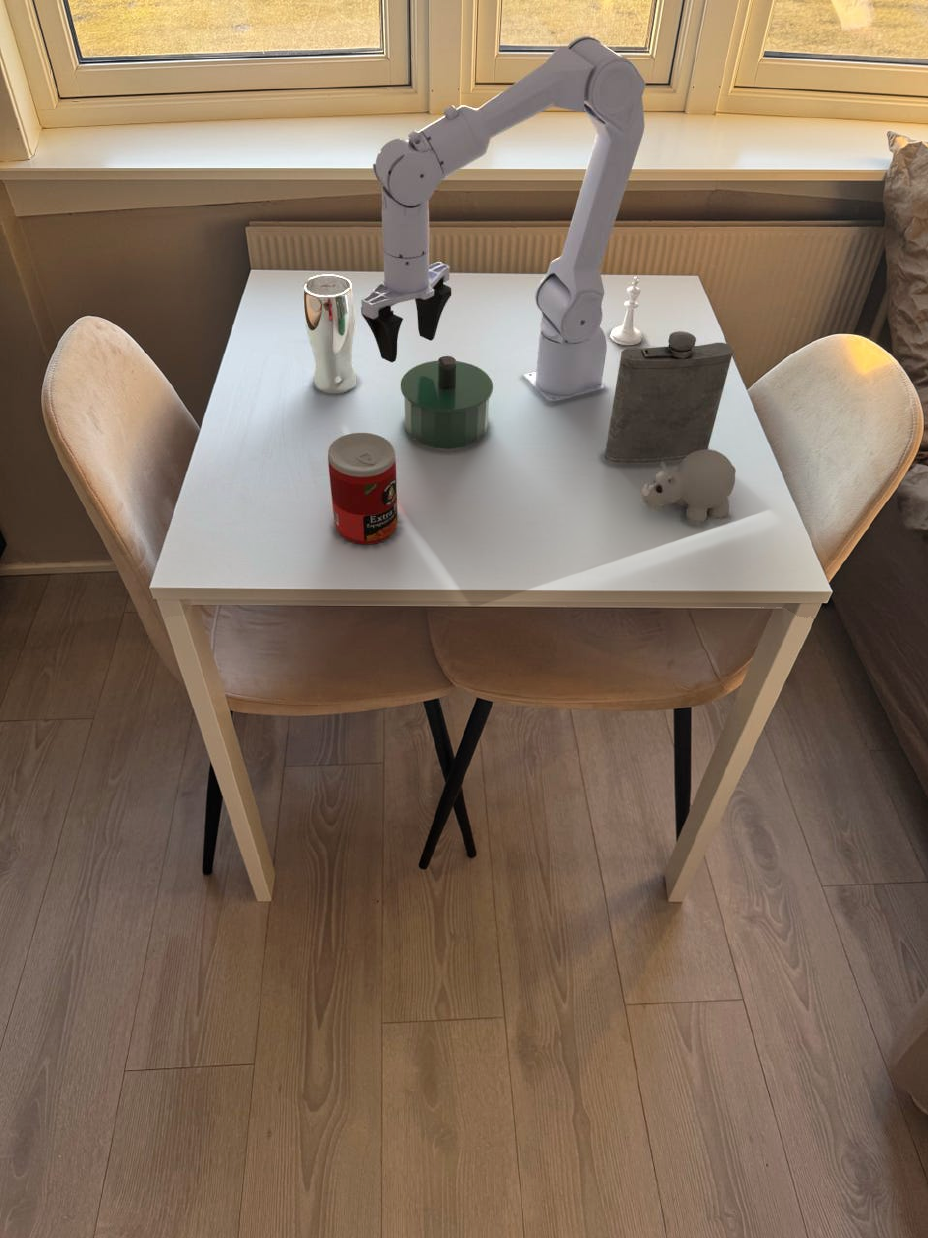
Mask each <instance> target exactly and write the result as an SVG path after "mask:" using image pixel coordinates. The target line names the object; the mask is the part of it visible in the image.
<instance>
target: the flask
mask: <svg viewBox="0 0 928 1238" xmlns="http://www.w3.org/2000/svg"><path fill="white" fill-rule="evenodd" d="M667 342H668V346H657V347H645V348H644V347H642V348H640V347H639V348H638V347H636V348H635V347H628V348H624V349H623V350H622V351H621V354H620V358H619V359H620V360H619V366H618V370H617V371H618V372H617V377H616V382H615V383H616V384H615V390H614V396H613V402H612V407H611V415H610V420H609V427H608V432H607V440H606V444H605V451H604V457H605V458H606V460H607V461H610V462H611V463H622V464H642V463H643V464H644V463H645V464H647V463H661V462H672V461H679V460H681V461H682V460H683V459H684V458H685V457H686V456H687V455H689V454H691V453H692V452H695V451H698V450H703V449H709V446H710V442H711V438H712V434H713V431H714V427H715V423H716V419H717V414H718V411H719V406H720V403H721V400H722V396H723V391H724V388H725V385H726V380H727V376H728V373H729V368H730V365H731V361H732V357H733V353H734V347H733V346H731V345H730V344H728V343H727V342H726V343H725V342H713V343H707V344H700V345H696V343H697V338H696V336H695V335H694V334H692V333H690V332H688V331H683V330H682V331H680V330H679V331H678V330H677V331H674V332H671V333H670V334H669V337H668V341H667Z"/></svg>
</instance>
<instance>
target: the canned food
mask: <svg viewBox="0 0 928 1238" xmlns="http://www.w3.org/2000/svg"><path fill="white" fill-rule="evenodd" d="M396 459H397V457H396V451H395V447H394V445H393V444H392V442H391V441H389V440H388V439H387V438H385V437H383V436H380V435H378V434H375V433H369V432H353V433H349V434H345V435H342V436H340V437H338V438H336V439H335V440H334V441H332V443H331V444H330V445H329V446H328V450H327V462H328V463H327V464H328V474H329V485H330V494H331V504H332V513H333V523H334V527H335V528H336V531H337V532H338V533H339V535H340V536H341V537H342V538H344V539H345V540H347V541H349V542H351V543H354V544H360V545H374V544H378V543H382V542H384V541H386V540H387V539H389V538H391V536H393V534H394V533H395V531H396V528H397V526H398V491H397V490H398V489H397V460H396Z"/></svg>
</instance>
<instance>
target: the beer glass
mask: <svg viewBox="0 0 928 1238" xmlns="http://www.w3.org/2000/svg"><path fill="white" fill-rule="evenodd" d="M352 286H353V285H352V283H351V281H350V280H349V279H347V278H345V277H343V276H340V275H336V274H321V275H316V276H313V277H310V278H308V279H307V280H306V281H305V282H304V283H303V284H302V290H303V294H302V295H303V299H302V300H303V314H304V323H305V328H306V334H307V336H308V341H309V343H310V346H311V350H312V354H313V357H314V358H313V359H314V366H315V367H314V377H313V378H314V379H313V382H314V383H313V384H314V386H315V388H316V389H317V390H319V391H320V392H322V393H325V394H330V395H337V394H343V393H346V392H349V391H350V390H352V389H353V388H354V387H355V386H356V383H357V379H356V374H355V371H354V367H353V347H354V340H355V339H354V338H355V329H356V327H355V326H356V314H355V312H356V311H355V301H354V295H353V287H352Z"/></svg>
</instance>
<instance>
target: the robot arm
mask: <svg viewBox="0 0 928 1238" xmlns="http://www.w3.org/2000/svg"><path fill="white" fill-rule="evenodd" d="M645 89H646V81H645V79H644V78H643V76H642V74H641V72H640V71H639V69H638V68H637V66H636V65H635V63H634V62H633V61H632V60H630V59H629V58H627V57H625V56H622V55H620V54H618V53H617V52H615V51H613V50H612V49H611V48H609V47H607V46H606V45H604V44H603V43H601V41H600V40H599V39H597V38H595V37H594V36H588V35H586V36H585V35H584V36H579V37H577V38H575V39H573V40H572V41H571V42H570V43H569V44H567V46H566V45H564V46H561V47H559V48H557V49H555V50H554V51H553V52H552V53H551V54H550V56H549V57H548V58H547V59H546V60H545V61H544V62H543V63H542V64H541V65H539V66H538V67H537V68H535V69H533V70H532V71H530V72H529V73H528V74H526V75H525V76H523V77H522V78H520V79H518V81H516V82H514V83H513V84H512V85H510V86H508V87H507V88H506V89H504V90H503V91H501V92H500V93H498V94H497V95H496V96H494V97H493V98H491V99H490V100H488V101H487V102H485V103H484V104H482V105H481V106H480V107H477V108H473V107H470V106H468V105H465V104H463V105H460V106H458V107H455V106H454V105H453V104H452V105H450V106H448V107H447V108H445V109H444V110H443V115H444V116H442V117H441V118H438V119H437V120H435V121H434V122H432V123H430V124H428V125H427V126H426V127H424V128H422V129H421V130H419V131H417V130H415V129H414V130H412V131H411V132H409V133H408V134H407V136H408V139H406V138H402V139H400V138H394V139H392V140H390V141H388V142H387V143H385V144H384V145H383V146H382V147H381V148H380V152H378V153H377V156H376V159H375V162H374V163H373V164H372V169H373V173H374V176H375V178H376V179H377V181H378V182H379V183H380V185H381V186H382V187H381V231H382V232H381V233H382V234H381V235H382V255H383V256H382V258H383V259H382V260H383V262H382V263H383V279H382V281H380V282H379V284H378V285H377V286H376V287H375V288H374V289H373V290H372V291H371V292H370V293H369V294H368V295H367V296H366V297H364V298H362V299H361V300H360V302H361V303H360V304H361V306H360V313H361V316H362V317H363V319H364V320H365V322H366V323H367V325H368V327H369V328H370V330H371V332H372V335H373V337H374V339H375V341H376V344H377V347H378V351H379V355H380V357H381V359H382V360H385V361H388V363H389V362H390V363H394V362H396V360H397V356H398V338H399V332H400V329H401V326H402V323H403V321H404V318H403V317H402V316H399V315H396V314H394V310H392V307H393V306H394V305H397V304H399V303H404V302H408V301H413V300H414V302H415V307H416V313H417V329H418V334H419V336H420V337H421V338H424V339H426V340H428V341H430V342H431V341H433V340H435V337H436V333H437V330H438V327H439V326H438V325H439V322H440V318H441V316H442V313H443V311H444V308H445V306H446V304H447V303H448V301H449V299H450V298H451V297H452V287H450V286H449V285H447V284H444V283H447V282H448V281H450V268H451V267H450V265H448V264H445V263H443V262H441V261H437V262H435V263H434V262H433V263H432V264H430V209H429V204H430V203H429V202H430V199H431V198H432V196H433V195H434V193H435V192H436V188H437V186H438V184H440V183H441V182H443V180H445V179H447V178H448V177H449V176H452V175H453V174H455V173H457V172H458V171H460V170H461V169H463V168H465V167H467V166H468V165H470V164H471V163H473V162H475V161H476V160H478V159H480V158H482V157H483V156H485V155H486V153H487V152H488V149H489V146H490V143H491V140H492V139H493V138H494V137H496V136H498V135H500V134H502V133H504V132H505V131H508V130H510V129H511V128H513V127H515V126H518V125H519V124H521V123H523V122H525V121H527V120H528V119H531V118H532V117H535V116H536V115H538V114H540V113H542V112H544V111H546V110H548V109H550V108H553V107H554V108H558V109H564V110H569V111H573V112H578V113H584V112H585V114H586V115H587V117H588V118H589V120H590V122H591V124H592V125H593V127H594V129H595V131H596V135H595V139H594V142H593V146H592V150H591V153H590V157H589V158H588V159H589V160H588V163H587V167H586V170H585V174H584V177H583V181H582V183H581V188H580V191H579V194H578V197H577V201H576V205H575V207H574V212H573V215H572V219H571V222H570V226H569V228H568V232H567V235H566V238H565V242H564V245H563V250H562V253H561V255H560V256H559V257H557V258H556V259H554V260H552V261H551V262H550V263H549V266H548V269H547V272H546V274H545V275H544V277H543V278H542V279H541V281H540V282H539V284H538V285H537V287H536V290H535V294H534V301H535V305H536V307H537V308H538V310H539V311H540V312H541V317H540V326H539V337H538V347H537V358H536V368H535V371H534V372H529V373H525V374H524V375H523V376H524V378H525V379H526V381H528V382H529V383H530V384H531V385H532V386H533V387H534V388H535V389H536V390H537V391H538V392H539V393H540V394H541V395H542V396H543V397H544V398H545V399H546V400H547V402H557V401H560V400H565V399H567V398H571V397H575V396H580V395H583V394H588V393H592V392H595V391H599V390H602V389H604V388H605V386H604V385H603V384H602V383H603V376H604V370H605V364H606V356H607V351H608V350H607V347H608V345H607V338H606V333H605V332H604V330H603V328H602V327H601V324H602V322H603V308H602V305H603V304H602V303H603V299H604V296H605V289H604V283H603V279H602V274H601V266H602V263H603V260H604V257H605V254H606V251H607V248H608V245H609V242H610V239H611V236H612V232H613V229H614V226H615V223H616V220H617V218H618V217H617V216H618V214H619V210H620V208H621V204H622V201H623V198H624V195H625V192H626V190H627V189H626V188H627V185H628V182H629V179H630V176H631V173H632V170H633V167H634V164H635V160H636V158H637V154H638V151H639V148H640V145H641V142H642V139H643V135H644V132H645V116H644V113H645V112H644V103H643V95H644V91H645Z"/></svg>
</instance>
